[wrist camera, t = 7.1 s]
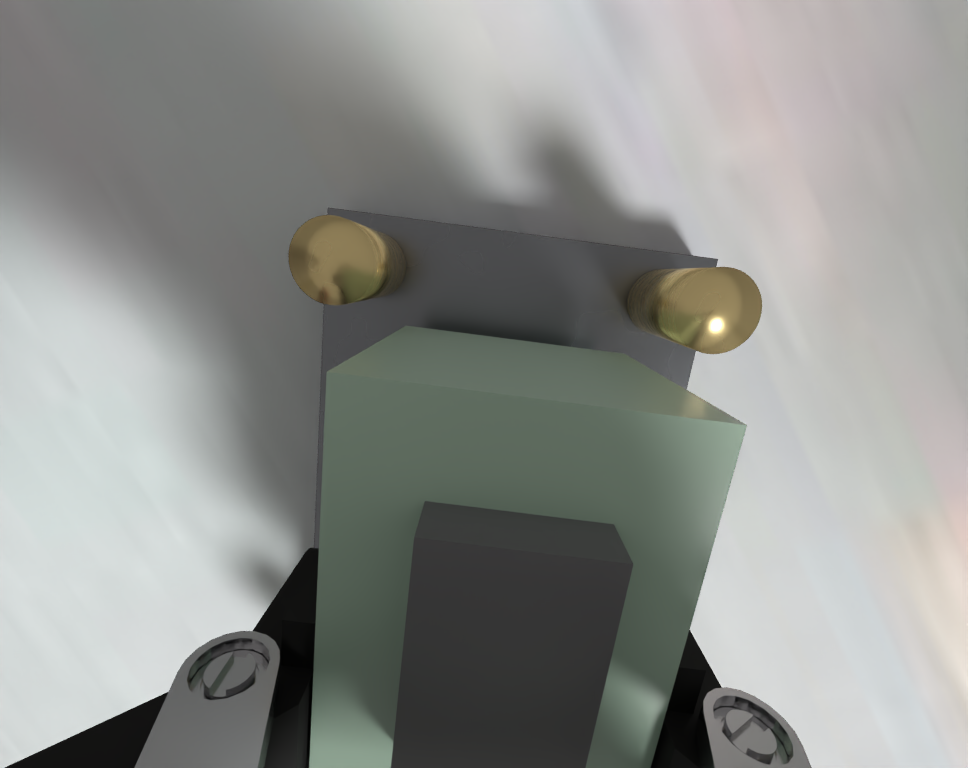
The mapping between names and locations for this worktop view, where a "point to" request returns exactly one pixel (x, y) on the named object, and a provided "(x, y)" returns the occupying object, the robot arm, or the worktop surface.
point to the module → (507, 553)
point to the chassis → (513, 293)
